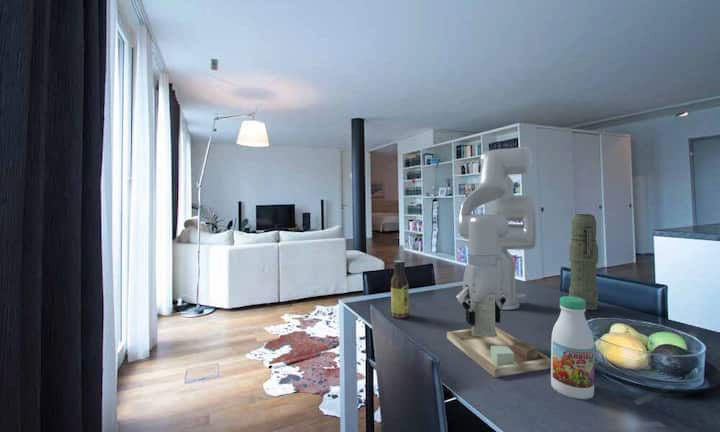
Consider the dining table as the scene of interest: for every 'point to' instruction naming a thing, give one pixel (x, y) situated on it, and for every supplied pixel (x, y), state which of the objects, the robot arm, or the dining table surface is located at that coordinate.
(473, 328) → the skincare box
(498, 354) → the sage block
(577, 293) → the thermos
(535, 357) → the walnut block
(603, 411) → the dining table surface
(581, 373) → the milk bottle
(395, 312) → the sauce bottle
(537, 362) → the tray
